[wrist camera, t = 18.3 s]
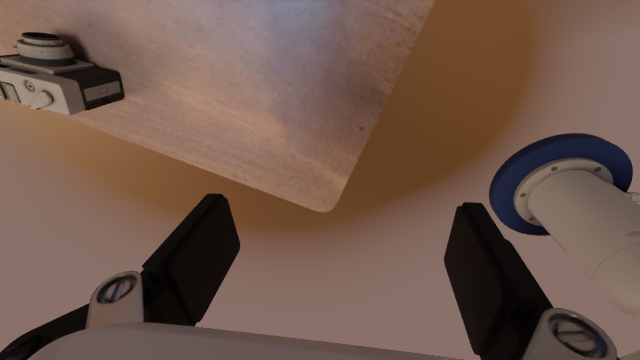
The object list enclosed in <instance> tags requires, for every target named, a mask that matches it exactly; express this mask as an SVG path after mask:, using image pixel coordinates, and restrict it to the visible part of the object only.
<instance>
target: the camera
mask: <svg viewBox="0 0 640 360" xmlns="http://www.w3.org/2000/svg"><path fill="white" fill-rule="evenodd" d="M22 38H23V39H22V40H18V41H17V42H16V43H17V46H15V45H13V47H14V48H17V49H18V53H19V54H14V55H4V56H0V99H3V100H6V99H8V100H13V101H15V102H16V103H21V104H24V105H28V108H32V109H37V110H38V109H45V110H49V111H53V112H57V113H61V114H65V115H72V114H75V113H78V112H81V111H84V110H85V111H86V110H91V109H94V108H97V107H100V106H103V105H106V104H109V103H112V102H115V101H119V100H122V99H123V97H124V92H123V87H122V82H121V78H120V74H119V72H116V71H113V70H108V69H104V68H100V67H96V66H94V64H92V63H88V62H83V61H79V60H75V57H74V55H75V54H74V53H72V50H71V48H70V46H69V45H68V44H66V43H63V42H61V39H60V37H59V36H57V35H53V34H47V33H38V32H26V33H22Z"/></svg>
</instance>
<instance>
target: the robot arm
mask: <svg viewBox="0 0 640 360" xmlns="http://www.w3.org/2000/svg"><path fill="white" fill-rule="evenodd" d="M513 201H514V207H515V209H516V211H517V212H518V214H519V215H520V216H521V217H522V218H523V219H524V220H525V221H527V222H529V223H531V224H534V225H538V226H543V227H544V228H545V229H546V230H547V231H548V232H549V234H550V235H551V236H552V237H553V238H554V239H555V240H556V242H557V243H558V244H559V245H560V246H561V247H562V248H563V250H564V251H565V252H566V253H567V254H568V256H569V257H570V258H571V259H572V260H573V261H574V262H575V264H576V265H577V266H578V267H579V268H580V269H581V271H582V272H583V273H584V274H585V275H586V276H587V278H588V279H589V280H590V281H591V282H592V283H593V284H594V286H595V287H596V288H597V289H598V290H599V291H600V293H601V294H602V295H603V296H604V297H605V298H606V299H607V300H608V301H609V302H610V303H611V304H612V305H614V306H615V307H616V308H618V309H620V310H621V311H623V312H624V313H626V314H628V315H630V316H632V317H634V318H636V319H639V320H640V205H638V204H637V203H635V202H640V194H639V193H633V192H632V193H631V192H627V193H624V192H623V191H621V190H620V189H618V188H617V187H615V186H614V185H613V178H612V175H611V173H610V171H609V170H608V169H607V168H606V167H605V166H603V165H602V164H600V163H598V162H597V161H594V160H592V159H589V158H583V157H568V158H561V159H558V160H554V161H551V162H548V163H546V164H544V165H542V166H540V167H538V168H536V169H535V170H533V171H532V172H531V173H529V174H528V175H527V176H526V177H525V178H524V179H523V180H522V181H521V182H520V184H519V185H518V187H517V189H516V191H515V193H514V198H513ZM239 249H240V241H239V238H238V235H237V231H236V227H235V224H234V221H233V217H232V214H231V210H230V207H229V203H228V200H227V198H225V197H224V196H223V195H222V194H207V195H206V196H205V197H204V198H203V199H202V200H201V201H200V202H199V203H198V205H197V206H196V207H195V208H194V209H193V210H192V211H191V212H190V213H189V215H188V216H187V217H186V218H185V219H184V220H183V221H182V222H181V223H180V224H179V225H178V227H177V228H176V229H175V230H174V231H173V232H172V233H171V234H170V236H169V237H168V238H167V239H166V240H165V241H164V242H163V243H162V244H161V245H160V246H159V248H158V249H157V250H156V251H155V252H154V253H153V254H152V255H151V256H150V258H149V259H148V260H147V261H146V262H145V263H144V264H143V265H142V267H143V269H144V270H143V271H142V272H141V273H138V272H137V271H125V272H122V273H118V274H116V275H114V276H112V277H110V278H109V279H107V280H106V281H104V282H103V283H102V284H101V285H100V286H98V287H97V288H96V290H95V291H94V293H93V294H92V296H91V299H90V303H89V304H86V305H85V306H83V307H80V308H78V309H76V310H74V311H72V312H69V313H67V314H65V315H63V316H61V317H59V318H57V319H55V320H53V321H50V322H48V323H46V324H44V325H42V326H39V327H37V328H35V329H33V330H31V331H29V332H27V333H25V334H23V335H22V336H20V337H19V338H17V339H16V340H14V341H13V342H12V343H10V344H9V345H8V346H7V347H6V348H5V349H4V350H2V352H1V353H0V360H462V359H455V358H448V357H441V356H434V355H427V354H419V353H411V352H403V351H395V350H386V349H379V348H371V347H363V346H355V345H347V344H339V343H330V342H322V341H314V340H305V339H297V338H288V337H280V336H271V335H263V334H254V333H245V332H236V331H227V330H219V329H211V328H202V327H195V325H196V323H197V322H200V321H201V320H202V318H203V316H204V314H205V313H206V311H207V309H208V307H209V305H210V303H211V302H212V300H213V298H214V296H215V294H216V292H217V291H218V289H219V287H220V285H221V283H222V281H223V280H224V278H225V276H226V274H227V272H228V270H229V268H230V267H231V265H232V263H233V261H234V259H235V257H236V256H237V254H238V252H239ZM444 263H445V267H446V270H447V273H448V276H449V279H450V282H451V286H452V288H453V292H454V295H455V298H456V301H457V304H458V307H459V310H460V313H461V316H462V319H463V322H464V325H465V328H466V331H467V335H468V338H469V340H470V344H471V347H472V349H473V351H474V353H475V354H476V355H480V358H481V360H640V350H639V351H636V352H634V353H631V354H629V355H626V356H623V357H621V358H618V357H617V351H616V348H615V346H614V344H613V342H612V340H611V339H610V337H609V336H608V335H607V334H606V333H605V332H604V330H602V329H601V328H600V327H599V326H598V325H596V324H595V323H594V322H592V321H590V320H589V319H587V318H586V317H584V316H582V315H580V314H578V313H576V312H573V311H570V310H567V309H562V308H554V307H553V306H552V304H551V303H550V301H549V300H548V298H547V297H546V295H545V294H544V292H543V291H542V289H541V288H540V286H539V285H538V283H537V282H536V280H535V279H534V277H533V275H532V274H531V272H530V271H529V269H528V268H527V266H526V265H525V263H524V262H523V260H522V259H521V257H520V256H519V254H518V253H517V251H516V249H515V248H514V246H513V245H512V244H511V243H510V241H508V240H506V239H505V238H504V237H503V235H502V234H501V232H500V230H499V229H498V227H497V226H496V224H495V223H494V221H493V220H492V218H491V216H490V215H489V213H488V212H487V210H486V209H485V207H484V205H483V204H482V203H470V202H465V203H463V204H462V206H458V207H457V209H456V213H455V218H454V221H453V225H452V229H451V233H450V237H449V241H448V244H447V248H446V252H445V256H444Z"/></svg>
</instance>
